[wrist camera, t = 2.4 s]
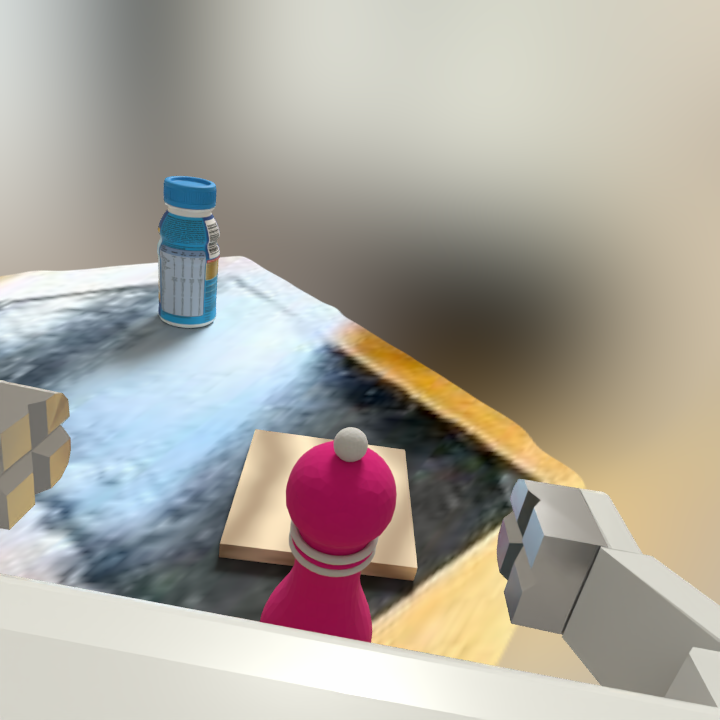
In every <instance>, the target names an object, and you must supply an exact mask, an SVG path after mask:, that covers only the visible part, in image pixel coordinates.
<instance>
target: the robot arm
mask: <svg viewBox="0 0 720 720" xmlns="http://www.w3.org/2000/svg"><path fill="white" fill-rule="evenodd" d="M68 418H69V404H68V399H67V398H66V397H65V396H64V394H63V393H59V392H54V391H49V390H44V389H39V388H35V387H30V386H25V385H20V384H15V383H10V382H6V381H2V380H0V528H2V529H8V530H10V529H11V528H12V527H13V526H14V525H15V524H16V523H17V522H18V521H19V520H20V519H21V518H22V517H23V516H24V515H25V514H26V513H27V512H28V511H29V510H30V509H31V508H32V507H33V506H34V505H35V494H37V493H40V492H43V491H45V490H48V489H51V488H52V487H53V486H54V485H55V484H56V483H57V482H58V480H59V479H60V478H61V477H62V475H63V473H64V471H65V469H66V467H67V465H68V462H69V456H70V451H71V442H70V437H69V435H68V434H67V433H66V431H65V430H64V428H63V427H62V426H61V425H62V424H63V423H64V422H65V421H66V420H67V419H68ZM510 500H511V503H512V507H513V510H514V511H513V512H512V513H510V514H509V515H508V516H506V517H505V518H504V519H503V521H502V525H501V528H500V532H499V536H498V544H497V561H498V566H499V571H500V573H501V574H502V575H503V576H504V577H505V578H506V579H507V580H508V582H507V585H506V587H505V590H504V594H505V599H506V603H507V607H508V612H509V616H510V621H511V624H516V625H520V626H525V627H530V628H535V629H539V630H543V631H548V632H553V633H557V634H562V635H563V636H562V637H563V639H564V640H565V641H566V642H567V644H568V645H569V646H570V647H571V649H572V650H573V651H574V652H575V654H576V655H577V656H578V657H579V658H580V660H581V661H582V662H583V664H584V665H585V666H586V667H587V668H588V670H589V671H590V672H591V673H592V675H593V676H594V677H595V678H596V680H597V681H598V682H599V683H600V685H601V686H599V685H593V684H588V683H583V682H577V681H573V680H567V679H562V678H556V677H551V676H545V675H540V674H535V673H530V672H524V671H518V670H514V669H508V668H502V667H498V666H492V665H487V664H482V663H476V662H471V661H466V660H460V659H455V658H450V657H444V656H439V655H434V654H428V653H423V652H417V651H412V650H407V649H401V648H396V647H391V646H385V645H380V644H375V643H369V642H364V641H359V640H353V639H348V638H343V637H337V636H332V635H327V634H321V633H316V632H311V631H305V630H300V629H295V628H289V627H284V626H278V625H273V624H268V623H262V622H257V621H252V620H246V619H241V618H236V617H230V616H225V615H220V614H214V613H209V612H204V611H198V610H193V609H188V608H182V607H177V606H172V605H166V604H161V603H156V602H150V601H145V600H139V599H134V598H129V597H123V596H118V595H113V594H107V593H102V592H97V591H91V590H86V589H81V588H75V587H70V586H65V585H59V584H54V583H49V582H43V581H38V580H33V579H27V578H22V577H17V576H11V575H6V574H1V573H0V720H720V606H719V605H718V604H717V603H715V602H714V601H713V600H711V599H710V598H708V597H707V596H706V595H704V594H703V593H701V592H700V591H699V590H698V589H696V588H695V587H693V586H692V585H690V584H689V583H688V582H687V581H685V580H684V579H682V578H681V577H680V576H678V575H677V574H676V573H674V572H673V571H672V570H670V569H669V568H667V567H666V566H665V565H663V564H662V563H661V562H659V561H658V560H657V559H655V558H654V557H652V556H649V555H643V554H642V552H641V551H640V549H639V547H638V545H637V544H636V542H635V540H634V538H633V537H632V535H631V533H630V532H629V530H628V528H627V526H626V525H625V523H624V521H623V520H622V518H621V516H620V514H619V513H618V511H617V509H616V507H615V506H614V504H613V502H612V500H611V499H610V497H609V496H608V495H607V494H605V493H604V492H600V491H593V490H586V489H579V488H573V487H567V486H560V485H554V484H548V483H542V482H535V481H529V480H522V479H519V480H518V481H517V483H516V484H515V486H514V489H513V491H512V494H511V497H510Z"/></svg>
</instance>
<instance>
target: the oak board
mask: <svg viewBox="0 0 720 720" xmlns="http://www.w3.org/2000/svg"><path fill="white" fill-rule="evenodd" d="M330 441H334V440H329V439H322V438H315V437H307V436H300V435H293V434H286V433H278V432H271V431H264V430H257V429H255V432H254V436H253V439H252V442H251V445H250V449H249V452H248V455H247V458H246V461H245V465H244V468H243V471H242V474H241V477H240V481H239V484H238V487H237V490H236V494H235V497H234V500H233V503H232V506H231V510H230V513H229V516H228V519H227V522H226V526H225V529H224V532H223V535H222V538H221V542H220V551H219V557H223V558H232V559H240V560H248V561H256V562H264V563H272V564H281V565H289V566H294V562H295V557H294V555H293V554H292V552H291V549H290V546H289V532H290V524H291V518H290V515H289V512H288V509H287V506H286V486H287V482H288V479H289V476H290V473H291V471H292V468H293V467H294V465H295V464H296V462H297V461H298V459H299V458H300V457H301V456H302V455H303V454H304V453H306V452H307V451H308V450H310V449H311V448H313V447H314V446H317V445H320V444H322V443H325V442H330ZM368 448H370V449H371V450H373V451H374V452H376V453H377V454H378V455H379V456H381V457H382V458H383V459H384V461H385V462H386V464H387V465H388V466H389V468H390V470H391V471H392V474H393V476H394V480H395V484H396V493H397V498H396V507H395V511H394V514H393V517H392V520H391V522H390V523H389V525H388V526H387V528H386V529H385V530H384V531H383V533H382V534H381V535H380V536H379V538H378V543H377V545H376V551H375V555H374V557H373V559H372V561H371V562H370V564H369V565H368V566H367V567H365V568H364V569H363V570H361V574H362V575H370V576H379V577H387V578H395V579H403V580H411V581H414V578H415V574H416V571H417V559H416V550H415V541H414V531H413V522H412V513H411V503H410V494H409V485H408V475H407V466H406V457H405V450H401V449H394V448H387V447H380V446H373V445H368Z"/></svg>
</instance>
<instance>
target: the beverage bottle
mask: <svg viewBox="0 0 720 720" xmlns="http://www.w3.org/2000/svg"><path fill="white" fill-rule="evenodd" d="M164 201H165V204H166V205H167V206H169V208H168V209H167V211H166V212H165V213H164V215H163V217H162V218H161V220H160V223H159V226H158V232H159V234H160V236H161V239H160V240H159V242H158V245H157V253H158V267H159V317H160V318H161V319H162V320H163V321H164V322H165V323H167V324H170V325H173V326H176V327H182V328H197V327H202V326H206V325H208V324H210V323H212V322H213V321H214V319H215V317H216V293H217V275H218V259H219V257H220V249H219V246H218V244H217V240H218V238H219V236H220V232H219V228H218V224H217V222H216V220H215V218H214V216H213V215H212V213H211V210H213V209H214V208H215V203H216V185H215V184H214V183H213V182H211V181H208V180H205V179H201V178H195V177H187V176H172V177H167V178H166V179H165V180H164Z"/></svg>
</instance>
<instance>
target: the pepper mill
mask: <svg viewBox="0 0 720 720" xmlns="http://www.w3.org/2000/svg"><path fill="white" fill-rule="evenodd" d="M396 498H397V493H396V484H395V480H394V476H393V474H392V471H391V470H390V468H389V466H388V465H387V464H386V462H385V461H384V459H383V458H382V457H381V456H379V455H378V454H377V453H376V452H374V451H373V450H371V449H370V448H368V441H367V438H366V436H365V434H364V433H363V432H362V431H360V430H359V429H357V428H353V427H349V428H345V429H343V430H341V431H340V432H339V433H338V434H337V435H336V437H335V439H334V441H330V442H325V443H322V444H320V445H317V446H314V447H313V448H311V449H310V450H308V451H307V452H306V453H304V454H303V455H302V456H301V457H300V458H299V459H298V461H297V462H296V464H295V465H294V467H293V468H292V471H291V473H290V476H289V479H288V482H287V486H286V506H287V509H288V512H289V515H290V518H291V524H290V532H289V546H290V549H291V552H292V554H293V555H294V557H295V562H294V566H293V568H292V570H291V571H290V572H289V574H288V575H287V576H286V577H285V578H284V579H283V580H282V581H281V582H280V583H279V585H278V586H277V587H276V588H275V589H274V591H273V593H272V594H271V596H270V598H269V599H268V601H267V603H266V604H265V607H264V609H263V612H262V615H261V619H260V622H262V623H268V624H273V625H278V626H284V627H289V628H295V629H300V630H305V631H311V632H316V633H321V634H327V635H332V636H337V637H343V638H348V639H353V640H359V641H364V642H369V643H371V638H372V622H371V616H370V611H369V606H368V603H367V600H366V598H365V595H364V592H363V590H362V587H361V583H360V575H361V570H363V569H364V568H365V567H367V566H368V565H369V564H370V562H371V561H372V559H373V557H374V555H375V551H376V545H377V543H378V538H379V536H380V535H381V534H382V533H383V531H384V530H385V529H386V528H387V526H388V525H389V523H390V522H391V520H392V517H393V514H394V511H395V507H396Z"/></svg>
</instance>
